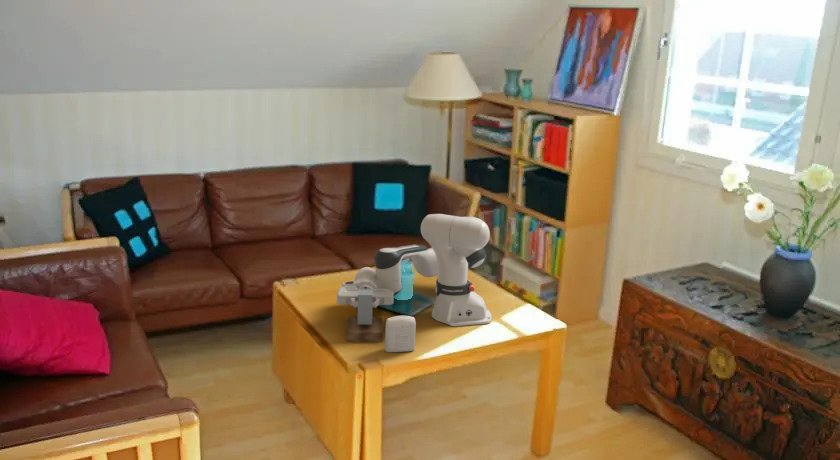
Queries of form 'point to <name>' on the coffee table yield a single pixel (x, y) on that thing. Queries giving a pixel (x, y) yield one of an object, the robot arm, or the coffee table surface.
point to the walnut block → (364, 331)
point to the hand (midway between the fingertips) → (365, 305)
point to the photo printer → (400, 334)
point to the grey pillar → (365, 306)
